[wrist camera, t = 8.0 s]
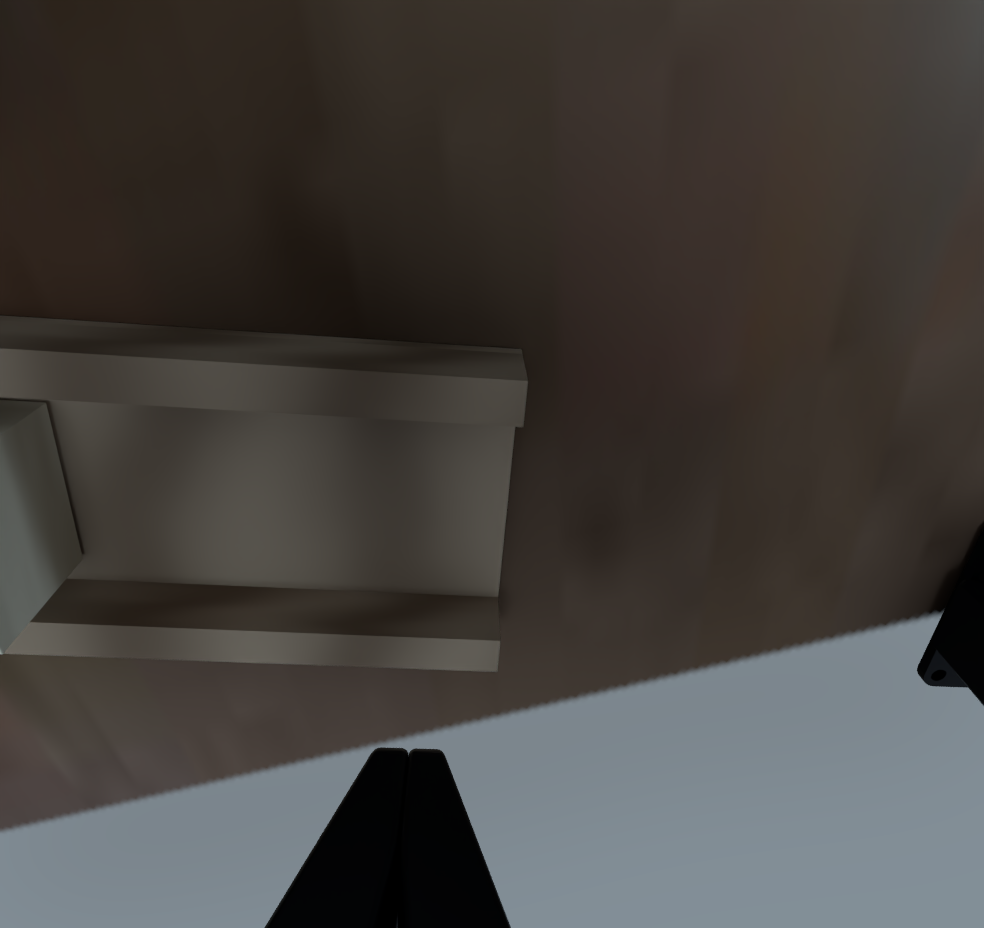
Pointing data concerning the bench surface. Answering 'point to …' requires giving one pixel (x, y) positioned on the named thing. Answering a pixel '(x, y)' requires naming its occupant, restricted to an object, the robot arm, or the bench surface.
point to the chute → (273, 493)
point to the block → (31, 517)
